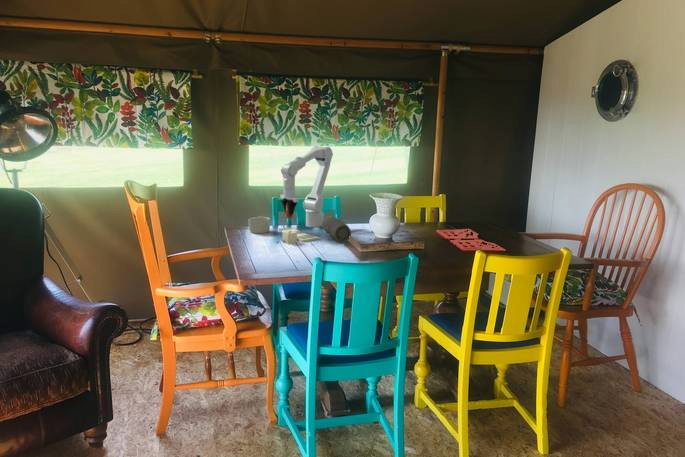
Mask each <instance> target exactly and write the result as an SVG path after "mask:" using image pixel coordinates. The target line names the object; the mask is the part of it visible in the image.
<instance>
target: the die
mask: <svg viewBox="0 0 685 457" xmlns="http://www.w3.org/2000/svg"><path fill="white" fill-rule="evenodd" d="M297 238H298V237H297V233H296V232H295V231H286V232H282V243H284V244H287V245H290V244H297V243H298V240H297Z"/></svg>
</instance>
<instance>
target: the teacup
mask: <svg viewBox="0 0 685 457" xmlns="http://www.w3.org/2000/svg"><path fill="white" fill-rule="evenodd" d="M247 220H248V229H249V232H250V233H251V234H257V235H258V234H259V235H260V234H262V235H263V234H266V233H268V232H269V231H271V230H270V228H271V221H270V220H271V218H270V217H266V216H255V217H254V216H253V217H250V218H248V219H247Z"/></svg>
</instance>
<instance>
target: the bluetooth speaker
mask: <svg viewBox="0 0 685 457" xmlns="http://www.w3.org/2000/svg"><path fill="white" fill-rule="evenodd" d="M321 228H323V230H324V232H326V233H327V234H328V235H329V237H330V238H331V239H332V240H333V241H335V242H341V243H344V242H347V241H348V240H349V239H350V238H349V236H350V237H351V236H352V231H351V228H350V227H349V225H348V224H346V223H345V222H344V221H342V220H341V219H339V218H337V217H336V216H333V215H327V216H324V219H323V221H322V227H321Z"/></svg>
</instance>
